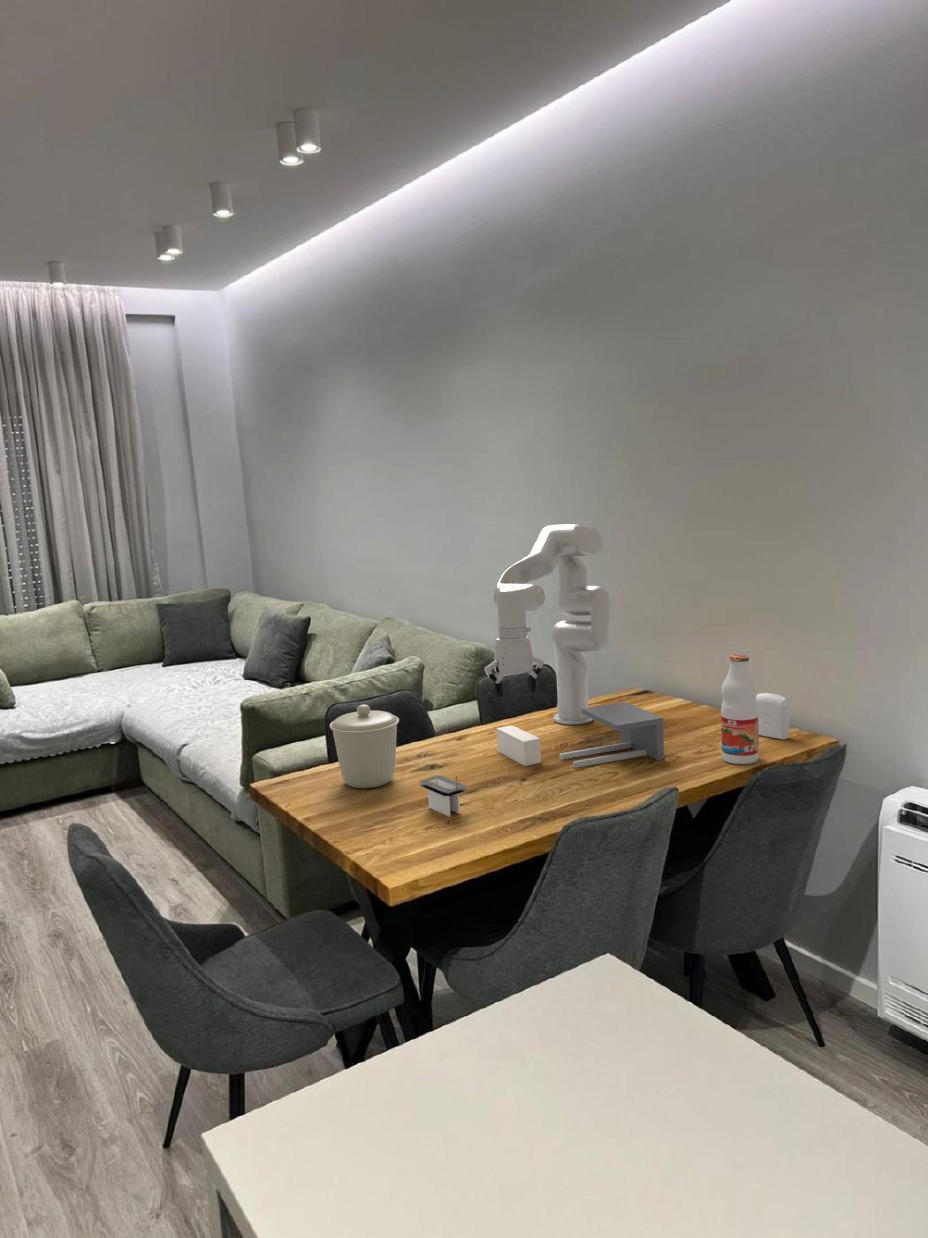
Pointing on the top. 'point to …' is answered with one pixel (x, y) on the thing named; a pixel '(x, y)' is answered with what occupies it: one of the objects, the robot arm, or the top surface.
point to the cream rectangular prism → (518, 745)
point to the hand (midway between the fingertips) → (515, 694)
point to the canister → (366, 746)
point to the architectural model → (443, 794)
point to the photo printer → (773, 715)
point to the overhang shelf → (624, 734)
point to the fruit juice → (739, 713)
